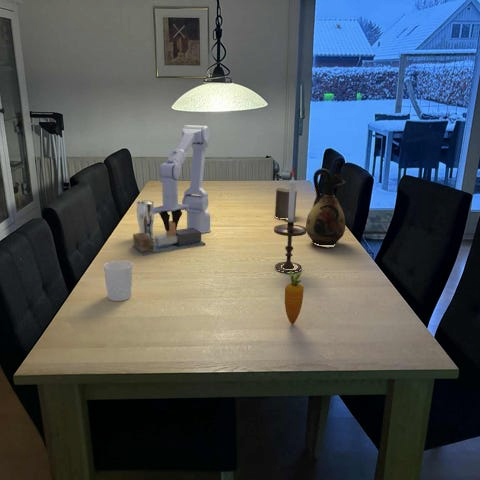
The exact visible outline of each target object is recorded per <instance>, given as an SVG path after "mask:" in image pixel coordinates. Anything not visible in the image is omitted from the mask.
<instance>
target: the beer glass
mask: <svg viewBox="0 0 480 480" xmlns="http://www.w3.org/2000/svg"><path fill="white" fill-rule="evenodd" d="M151 208H155V204H154V201H152V200H138V201H137V202H136V218H137V223H138V224H137V225H138V229H139V233H146V234H147V235H149V236H150V237H152V238H153V240H154V236H155V235H154V222H155V214H153V213H152V211H151Z"/></svg>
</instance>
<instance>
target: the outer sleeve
mask: <svg viewBox="0 0 480 480" xmlns="http://www.w3.org/2000/svg"><path fill="white" fill-rule="evenodd" d="M186 228H187V227H186ZM186 228H180V229H177V230H176V234H177V235H178V242H179V243H173V244H166V245H160V246H158V245H157V244H156V243H155V241H154V251H148V252H141V251H140V250H139V249H137V248H136V247H135V246H134V244H131V248H132V249H133V250H134V251H136V252H137V253H138V254H140V255H141V256H146V255H147V256H148V255H154V254H158V253H159V254H160V253H165V252H171V251H177V250H185V249H189V248H190V249H191V248H196V247H203V246H206V242H204V241H202V233H201V232H200V231H198V230H196V229H195V228H187V229H186Z"/></svg>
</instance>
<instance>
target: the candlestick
mask: <svg viewBox="0 0 480 480" xmlns="http://www.w3.org/2000/svg"><path fill="white" fill-rule="evenodd" d="M290 173H291V179H290V181H289V188H290V190H289V210H288V220H284V222H286V223H285V224H283V223H282V224H278V225H275V226H274V228H273V232H274V233H276V234H277V235H281V236H285V237H287V246H285V247H284V249H285V251H286V253H285V256H286V260H285V261H280V262H278V263H275V265H274V269H275V268H276V269H277V270H280V271H284V272H289V271H292V272H295V271H299V270H300V269H301V270H302V265H301V264H300V263H297V262H292V260H291V259H292V257H293V253H292V252H293V250H294V247H293V246H292V241H293V240H292V239H293V237H300V236H304V235H306V234H307V229H306V226H302V225H300V224H295V223H297V220H296V219H294V203H295V189H296V183H297V182H296V181H295V178H294V176H295V173H294V169H293V168H291V172H290ZM283 264H284V265H283ZM293 264H295V265H297V266H298V268H297V269H296V270H286V269H293V268H294V266H293ZM281 265H283V266H282V268H281ZM283 268H284V269H283ZM276 269H275V270H276ZM277 270H276V271H277Z"/></svg>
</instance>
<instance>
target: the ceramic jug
mask: <svg viewBox="0 0 480 480" xmlns="http://www.w3.org/2000/svg"><path fill="white" fill-rule="evenodd" d="M321 175H325V176H326V178H324V179H323V180H322V181H321V183H320V184H321V186H323V187H324V190H323V192H321V190H320V186H319V176H321ZM312 178H313V184H314V185H313V186H314V190H315V199H314V201H313V202H314V203H313V205H312V207H311V209H310V210H309V212H308V214H307V217H306V221H305V228H306V229H307V231H306V234H307V236H308V237H309V238H310V240H311V243H312V242H313V243H316V244H319V245H334V244H336V245H337V242H339V241H340V239H342V237H343V236H344V234H345V233H346V218H345V213H344V211H343V209H342V206H341V205H340V203H339V201H338V199H337V198H336V196H335V193H334V188H336V187H337V186H341V185H343V184H346V180H344V178H343V177H342V175H341V174H339V173H337V174H334V175H333V176H332V173H331V172H330V170H328V169H326V168H325V167H324V168H323V167H322V168H319V169H317V170H316V171H315V172H314V175H313V177H312ZM321 193H322V194H321Z"/></svg>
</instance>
